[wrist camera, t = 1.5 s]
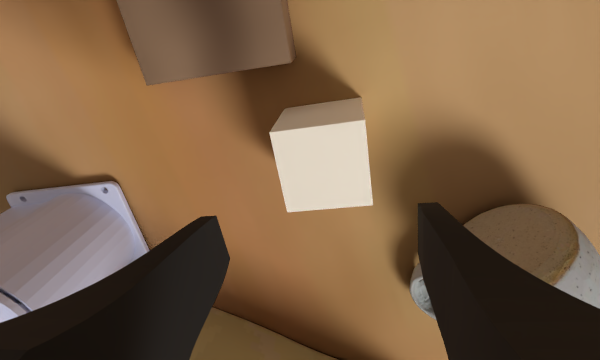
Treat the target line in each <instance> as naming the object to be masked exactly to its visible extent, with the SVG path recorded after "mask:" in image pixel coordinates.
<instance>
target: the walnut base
mask: <svg viewBox="0 0 600 360" xmlns="http://www.w3.org/2000/svg"><path fill="white" fill-rule="evenodd" d="M116 1H117V4H118V6H119V9H120V12H121V15H122V18H123V20H124V23H125V26H126V29H127V31H128V34H129V37H130V40H131V43H132V45H133V48H134V51H135V54H136V57H137V59H138V62H139V65H140V68H141V71H142V73H143V76H144V79H145V82H146V85H154V84H160V83H166V82H173V81H179V80H185V79H192V78H198V77H204V76H211V75H217V74H223V73H230V72H236V71H242V70H249V69H255V68H261V67H268V66H274V65H280V64H287V63H291V62H292V61H293V60H294V59H295V58H296V53H295V46H294V40H293V34H292V27H291V21H290V15H289V9H288V2H287V0H116Z"/></svg>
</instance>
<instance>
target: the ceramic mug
mask: <svg viewBox="0 0 600 360" xmlns="http://www.w3.org/2000/svg"><path fill="white" fill-rule="evenodd" d="M463 226H464V227H465V228H467V229H468V230H469V231H470V232H471V233H473V234H474V235H475V236H476V237H478V238H479V239H480V240H481V241H483V242H484V243H485V244H487V245H488V246H489V247H491V248H492V249H494V250H495V251H496V252H498V253H499V254H500V255H502V256H503V257H505V258H506V259H508V260H509V261H511V262H513V263H514V264H516V265H517V266H519V267H521V268H522V269H524V270H526V271H527V272H529V273H531V274H532V275H534V276H536V277H537V278H539V279H541V280H543V281H545V282H546V283H548V284H550V285H552V286H554V287H556V288H558V289H560V290H562V291H564V292H566V293H568V294H570V295H572V296H574V297H576V298H578V299H580V300H582V301H584V302H586V303H588V304H591V305H593V306H595V307H597V308H600V255H599V254H598V252H597V251H596V249H595V248H594V246H593V245H592V243H591V242H590V241H589V239H588V238H587V237H586V236H585V234H584V233H583V232H582V231H581V230H580V229H579V228H577V227H576V226H575V224H574V223H572V222H571V221H570V220H569V219H568V218H567V217H565V216H564V215H562V214H561V213H559V212H557V211H555V210H553V209H551V208H547V207H544V206H540V205H534V204H515V205H506V206H501V207H497V208H494V209H492V210H489V211H486V212H484V213H481V214H479V215H477V216H476V217H474V218H473V219H471V220H470V221H468V222H467V223H465V224H464V225H463ZM410 294H411V296H412V298H413V300H414V302H415V303H416V304H417V306H418V307H419V308H420V309H421V310H422V311H424V312H425V313H426V314H427V315H429V316H430V317H432V318H434V319H435V320H436V317H435V314H434V311H433V308H432V305H431V302H430V299H429V296H428V292H427V289H426V286H425V285H424V280H423V276H422V271H421V266H420V263H419V264H418V265H417V266H416V267H415V268H414V270H413V273H412V277H411V281H410Z"/></svg>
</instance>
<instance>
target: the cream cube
mask: <svg viewBox="0 0 600 360" xmlns="http://www.w3.org/2000/svg"><path fill="white" fill-rule="evenodd" d="M269 133H270V138H271V142H272V147H273V151H274V156H275V160H276V164H277V169H278V173H279V178H280V182H281V187H282V191H283V196H284V200H285V204H286V209H287V212H297V211H309V210H321V209H333V208H345V207H357V206H369V205H373V200H372V190H371V179H370V168H369V157H368V147H367V136H366V125H365V117H364V111H363V104H362V98H361V97H359V98H353V99H346V100H339V101H332V102H325V103H318V104H311V105H304V106H297V107H291V108H285V109H284V110H283V112H282V113H281V115H280V117H279V118H278V120H277V121H276V123H275V124H274V126H273V128H272V129H271V131H270V132H269Z"/></svg>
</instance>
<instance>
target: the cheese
mask: <svg viewBox="0 0 600 360" xmlns="http://www.w3.org/2000/svg"><path fill="white" fill-rule="evenodd" d="M190 360H338V359H336V358H333V357H330V356H328V355H325V354H323V353H320V352H318V351H315V350H313V349H310V348H308V347H306V346H303V345H301V344H299V343H297V342H295V341H293V340H290V339H288V338H286V337H284V336H282V335H280V334H278V333H275V332H273V331H271V330H269V329H266V328H264V327H262V326H259V325H257V324H254V323H252V322H249V321H247V320H244V319H242V318H239V317H237V316H234V315H232V314H229V313H227V312H224V311H221V310H219V309H216V308H214V307H212V308H211V310H210V313H209V315H208V317H207V319H206V321H205V323H204V325H203V328H202V330H201V332H200V334H199V336H198V339H197V341H196V343H195V346H194V348H193V351H192V354H191V357H190Z"/></svg>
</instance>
